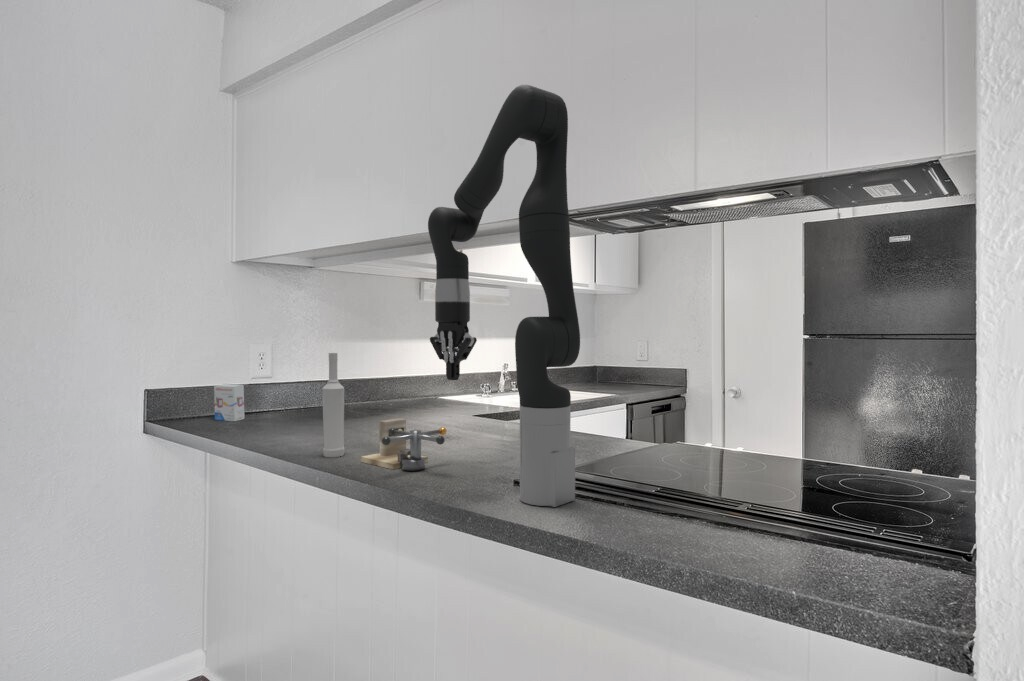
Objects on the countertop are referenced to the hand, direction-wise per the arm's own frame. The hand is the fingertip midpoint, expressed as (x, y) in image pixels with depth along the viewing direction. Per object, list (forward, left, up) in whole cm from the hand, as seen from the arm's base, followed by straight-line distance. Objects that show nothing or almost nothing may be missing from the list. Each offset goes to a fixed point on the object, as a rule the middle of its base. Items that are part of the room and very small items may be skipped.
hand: (452, 379), depth 138 cm
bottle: (+33, +9, -20) cm, 40 cm away
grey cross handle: (+6, +6, -20) cm, 21 cm away
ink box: (+110, -1, -20) cm, 112 cm away
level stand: (+15, +4, -20) cm, 25 cm away
